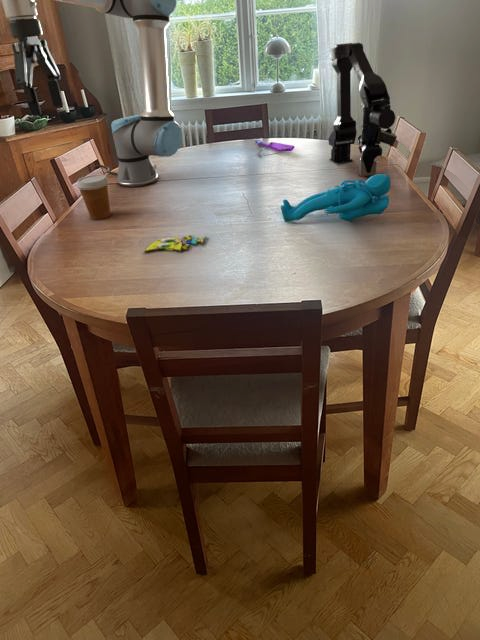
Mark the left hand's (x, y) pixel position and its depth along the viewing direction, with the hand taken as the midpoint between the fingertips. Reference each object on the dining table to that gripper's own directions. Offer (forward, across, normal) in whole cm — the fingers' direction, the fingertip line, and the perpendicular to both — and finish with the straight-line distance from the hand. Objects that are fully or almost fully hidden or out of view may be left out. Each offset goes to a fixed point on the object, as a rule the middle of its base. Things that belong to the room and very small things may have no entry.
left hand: (48, 110), depth 131 cm
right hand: (+31, +38, -91) cm, 104 cm away
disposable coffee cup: (+33, +7, -4) cm, 34 cm away
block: (+32, +38, -91) cm, 104 cm away
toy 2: (+33, -2, -78) cm, 84 cm away
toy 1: (+33, -17, -35) cm, 51 cm away
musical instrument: (+33, +81, -53) cm, 102 cm away
